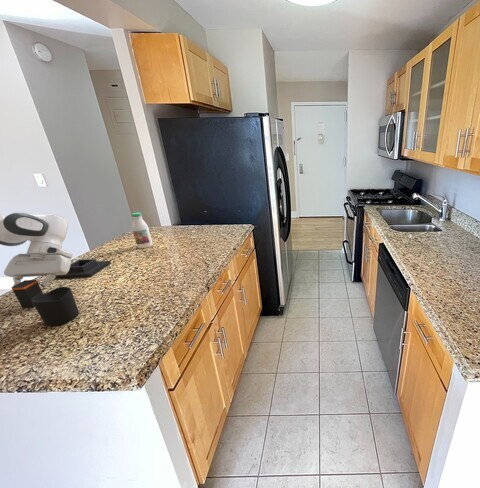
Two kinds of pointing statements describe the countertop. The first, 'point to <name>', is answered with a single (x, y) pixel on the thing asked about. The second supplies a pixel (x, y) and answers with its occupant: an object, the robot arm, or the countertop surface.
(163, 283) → the countertop surface
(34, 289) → the black orange block
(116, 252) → the countertop surface
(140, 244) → the milk bottle
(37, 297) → the pen holder
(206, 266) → the countertop surface
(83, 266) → the connector base
